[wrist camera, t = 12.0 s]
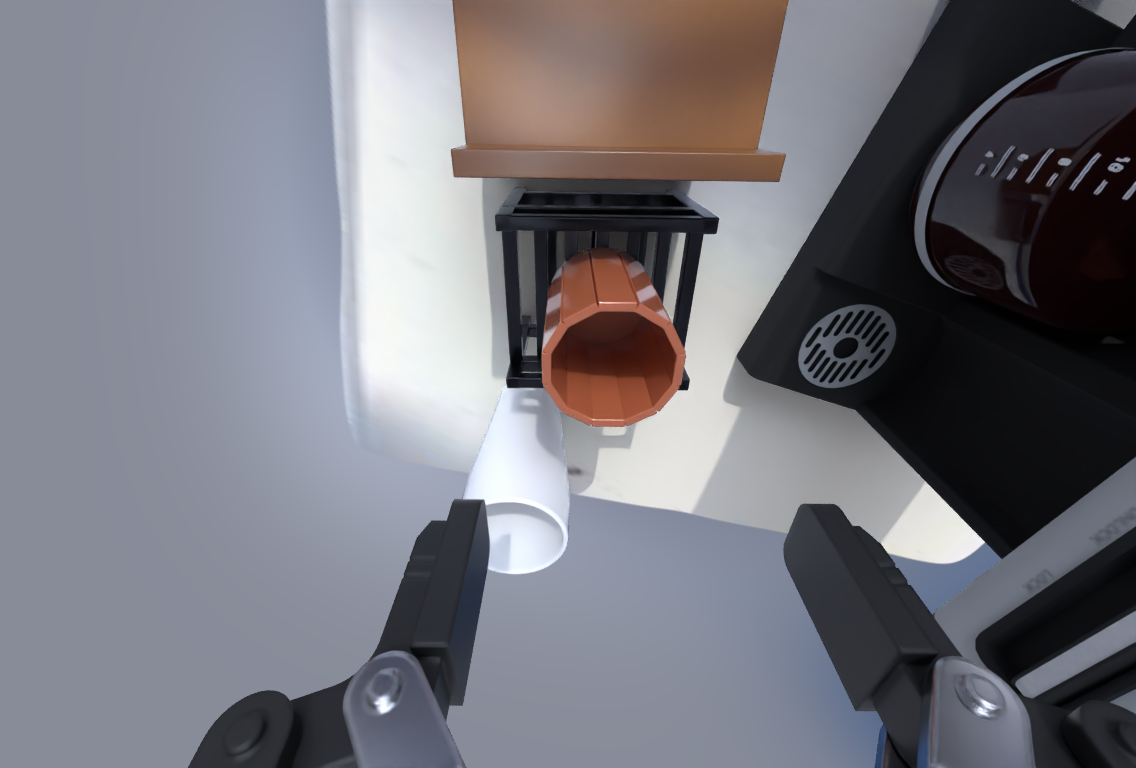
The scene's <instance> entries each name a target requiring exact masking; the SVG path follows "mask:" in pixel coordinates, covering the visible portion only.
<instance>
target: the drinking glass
mask: <svg viewBox="0 0 1136 768" xmlns="http://www.w3.org/2000/svg"><path fill="white" fill-rule="evenodd" d="M462 499H484V500H485V505H486V513H487V521H488V529H489V538H490V553H489V563H488V569H487V570H490V571H494V572H498V573H504V574H526V573H532V572H536V571H539V570H542V569H544V568H546V567H548V566H550V565H551V564H553V563H554V562H556V561H557V560H558V559H559V558H560V557H561V556H562V554H563V553H564V551H565V549H566V546H567V543H568V531H569V510H570V507H569V506H570V500H569V482H568V473H567V464H566V456H565V449H564V440H563V432H562V423H561V414H560V410H559V408H558V407H557V406H556V404H555V403H554V401H553V400H552V398H551V397H550V395H549V394H548V393H547V391H546V390H545V388H507V384H506V385H505V386H504V387H503V389H502V390H501V392H500V395H499V398H498V402H497V406H496V408H495V411H494V414H493V416H492V419H491V421H490V424H489V426H488V429H487V431H486V434H485V436H484V439H483V441H482V444H481V446H480V448H479V451H478V453H477V456H476V458H475V461H474V463H473V466H472V468H471V471H470V474H469V477H468V480H467V483H466V486H465V490H464V493H463V497H462Z"/></svg>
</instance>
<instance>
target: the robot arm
mask: <svg viewBox="0 0 1136 768" xmlns="http://www.w3.org/2000/svg"><path fill="white" fill-rule="evenodd" d="M489 553H490V538H489V529H488V521H487V513H486V505H485V500H484V499H455V500H454V501H453V503H452V506H451V509H450V512H449V515H448V519H447V521H431V522H430V523H429V524H428V525H427V527H426V528H425V529H424V530H423V531H422V532H421V534H420V535H419V536H418V537H417V539H416V542H415V545H414V547H413V551H412V553H411V556H410V561H409V562H408V564H407V567H406V570H405V572H404V578H403V579H402V581H401V584H400V586H399V589H398V592H397V595H396V597H395V600H394V603H393V606H392V609H391V611H390V614H389V617H388V620H387V622H386V625H385V628H384V631H383V634H382V636H381V639H380V642H379V644H378V646H377V649H376V650H375V652H374V654H373V655H372V657H371V658H370V659H369V661H368V662H367V663H365V664H364V665H363V666H362V667H361V668H360V669H359V670H358V672H357V673H356V674H355V675H353V676H351V677H350V678H349V679H347V680H345V681H343V682H342V683H340V684H337V685H335V686H333V687H329V688H326V689H323V690H320V691H317V692H314V693H312V694H309V695H306V696H303V697H300V698H297V699H294V700H291V701H290V700H289V699H288V698H287V697H286V696H285V695H284V694H282V693H280V692H277V691H269V690H268V691H261V692H257V693H254V694H251V695H249V696H247V697H245V698H243V699H241V700H240V701H238V702H237V703H235V704H234V705H232V706H231V707H230V708H229V709H227V711H225V712H224V713H223V714H222V715H221V716H220V717H219V718H218V719H217V720H216V721H215V722H214V724H213V725H212V727H211V728H210V729H209V730H208V732H207V734H206V735H205V737H204V739H203V741H202V742H201V744H200V746H199V748H198V750H197V752H196V754H195V755H194V757H193V759H192V761H191V763H190V765H189V767H188V768H466V766H465V764H464V762H463V760H462V758H461V755H460V753H459V750H458V748H457V746H456V744H455V741H454V739H453V737H452V735H451V732H450V730H449V728H448V726H447V724H446V719H447V714H448V709H449V705H456V706H457V705H459V706H461V705H463V702H464V696H465V690H466V685H467V679H468V674H469V668H470V663H471V657H472V652H473V646H474V640H475V635H476V630H477V624H478V618H479V613H480V607H481V602H482V596H483V591H484V585H485V579H486V574H487V569H488V563H489ZM784 559H785V563H786V566H787V569H788V571H789V573H790V575H791V577H792V579H793V581H794V583H795V586H796V588H797V590H798V592H799V594H800V596H801V598H802V600H803V602H804V604H805V606H806V609H807V611H808V613H809V615H810V617H811V619H812V621H813V623H814V625H815V627H816V629H817V632H818V633H819V636H820V638H821V640H822V641H823V644H824V646H825V648H826V650H827V652H828V654H829V657H830V658H831V660H832V662H833V665H834V667H835V669H836V671H837V673H838V675H839V677H840V679H841V682H842V683H843V686H844V688H845V690H846V692H847V694H848V696H849V698H850V700H851V702H852V705H853V706H854V709H855V711H877V712H878V714H879V716H880V718H881V720H882V722H883V725H882V726H881V728H880V731H879V737H878V744H877V753H876V759H875V767H874V768H1136V714H1135V713H1133V712H1131V711H1129V710H1127V709H1125V708H1123V707H1121V706H1118V705H1116V704H1113V703H1110V702H1106V701H1100V700H1091V701H1087V702H1085V703H1084V704H1083V705H1081V706H1080V707H1079V708H1077V709H1076V710H1075V711H1070V710H1066V709H1063V708H1060V707H1057V706H1054V705H1051V704H1048V703H1045V702H1041V701H1038V700H1035V699H1032V698H1029V697H1026V696H1023V695H1020V694H1017V693H1015V692H1014V691H1013V690H1012V688H1011V687H1010V686H1009V685H1008V684H1007V683H1006V682H1005V681H1003V680H1002V679H1001V678H1000V677H999V676H997V675H996V674H995V673H993V672H992V671H991V670H989V669H988V668H986V667H984V666H982V665H981V664H979V663H977V662H975V661H972V660H970V659H967V658H964V657H963V656H962V655H961V654H960V652H959V651H958V650H957V649H956V647H955V646H954V644H953V643H952V642H951V640H950V639H949V638H948V636H947V635H946V633H945V632H944V631H943V629H942V628H941V626H940V625H939V624H938V622H937V621H936V620H935V618H934V617H933V615H932V614H931V613H930V611H929V610H928V609H927V607H926V606H925V604H924V603H923V602H922V600H921V599H920V597H919V596H918V595H917V593H916V592H915V591H914V589H913V588H912V587H911V585H908V583H907V580H906V578H905V577H904V575H903V574H902V573H901V571H900V570H899V569H898V568H896V567H895V563H894V562H893V560H892V559H891V558H890V556H889V555H888V553H887V552H886V551H885V549H884V548H883V546H882V545H881V544H880V543H879V542H878V541H877V540H876V539H874V538H873V537H872V536H871V535H870V534H868V533H867V532H866V531H865V530H864V529H862V528H861V527H860V526H852V525H851V523H850V522H849V520H848V519H847V517H846V516H845V514H844V513H843V511H842V510H841V509H840V508H839V507H838V506H837V505H834V504H802V505H800V507H799V508H798V510H797V513H796V515H795V518H794V520H793V523H792V525H791V528H790V530H789V533H788V535H787V538H786V540H785V543H784Z"/></svg>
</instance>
